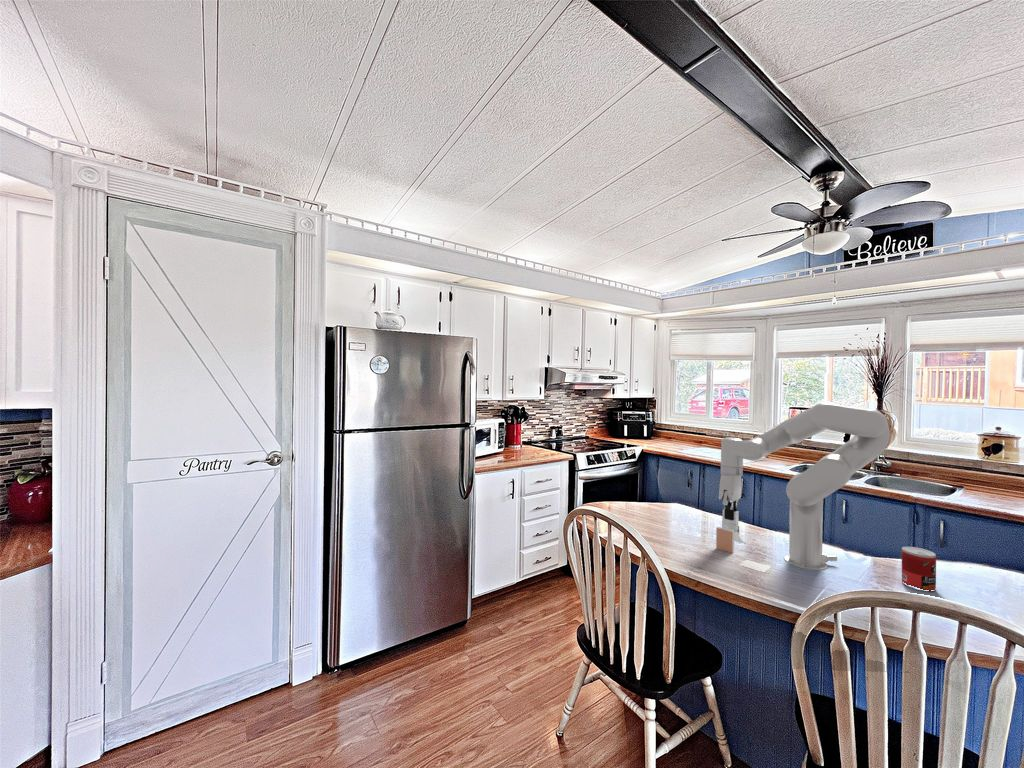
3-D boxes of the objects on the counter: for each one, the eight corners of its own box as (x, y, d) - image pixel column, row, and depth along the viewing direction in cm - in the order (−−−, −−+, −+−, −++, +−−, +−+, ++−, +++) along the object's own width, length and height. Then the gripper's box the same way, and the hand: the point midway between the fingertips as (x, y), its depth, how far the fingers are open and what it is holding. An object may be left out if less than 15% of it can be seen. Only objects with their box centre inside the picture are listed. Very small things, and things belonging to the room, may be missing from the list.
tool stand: (746, 561, 155) (746, 559, 155) (771, 569, 150) (771, 566, 150) (738, 567, 151) (738, 565, 151) (764, 574, 145) (764, 572, 145)
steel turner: (724, 526, 171) (725, 500, 171) (738, 529, 167) (739, 503, 167) (721, 527, 170) (722, 501, 169) (735, 531, 166) (736, 504, 166)
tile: (717, 548, 167) (717, 526, 167) (734, 552, 162) (734, 530, 162) (716, 548, 166) (716, 527, 166) (732, 553, 162) (732, 531, 162)
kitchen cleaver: (718, 523, 197) (744, 525, 192) (718, 526, 197) (744, 528, 192) (716, 541, 175) (745, 544, 171) (716, 544, 175) (745, 547, 171)
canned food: (927, 594, 132) (928, 557, 132) (895, 583, 139) (896, 548, 139) (941, 589, 135) (941, 553, 135) (909, 579, 142) (909, 544, 142)
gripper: (729, 466, 176) (728, 512, 177) (712, 471, 166) (711, 520, 166) (750, 469, 171) (748, 517, 171) (733, 474, 160) (732, 525, 160)
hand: (730, 518), depth 168 cm, fingers closed on steel turner, 2 cm apart
